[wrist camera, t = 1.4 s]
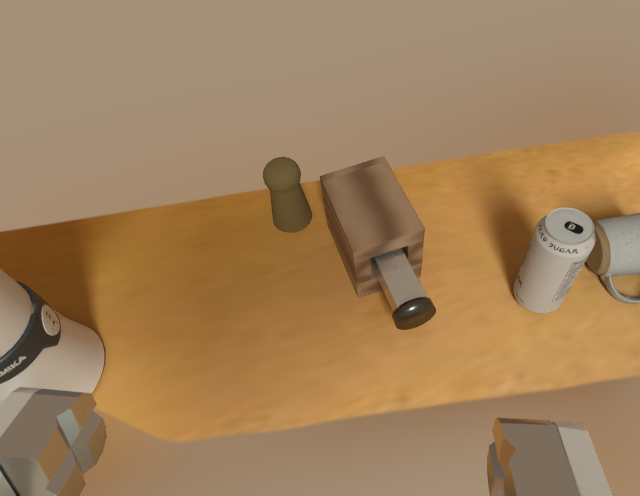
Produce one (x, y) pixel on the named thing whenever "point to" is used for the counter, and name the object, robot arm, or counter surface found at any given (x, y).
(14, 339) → the robot arm
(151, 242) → the counter surface
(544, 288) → the energy drink can
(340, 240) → the block
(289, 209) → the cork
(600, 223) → the ceramic mug
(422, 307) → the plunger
